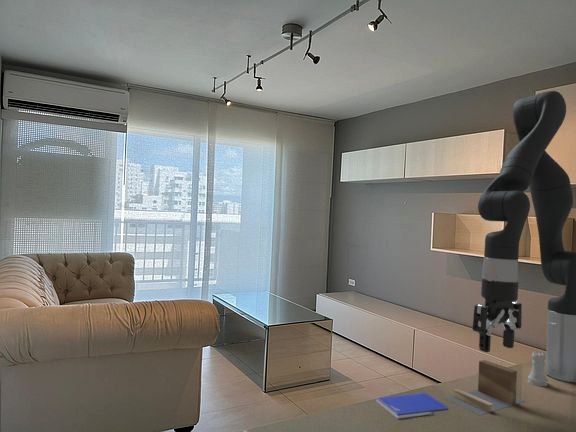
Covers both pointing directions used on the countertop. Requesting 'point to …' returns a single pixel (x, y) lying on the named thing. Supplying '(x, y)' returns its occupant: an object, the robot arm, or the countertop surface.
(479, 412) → the charcoal mat
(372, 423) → the countertop surface
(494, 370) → the walnut board
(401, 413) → the hard drive
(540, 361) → the rook chess piece
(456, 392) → the beech rail
